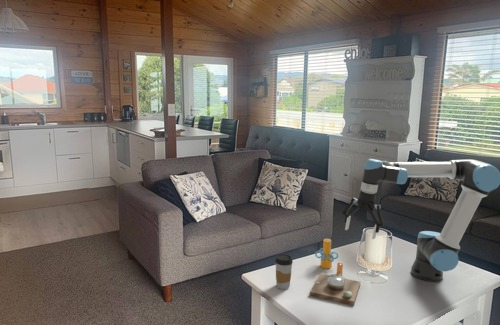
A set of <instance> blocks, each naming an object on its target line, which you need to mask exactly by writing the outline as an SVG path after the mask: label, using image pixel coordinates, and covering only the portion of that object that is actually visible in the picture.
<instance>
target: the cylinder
mask: <svg viewBox="0 0 500 325" xmlns="http://www.w3.org/2000/svg"><path fill="white" fill-rule="evenodd" d="M322 246H323V247H322V248H320V249H319V250H317V251H316V252H315V253H314V254H315V255H314V256H315V257H316V259H320V265H319V266H320V268H322V269H331V268H332V266H333V262H334V261H335V260H337V259H338V258H339V254H338V252H336V251H332V239H331V238H324V239H323V244H322ZM318 253H319V254H320V256H318ZM333 254H335V255H336V257H334V255H333Z"/></svg>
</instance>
